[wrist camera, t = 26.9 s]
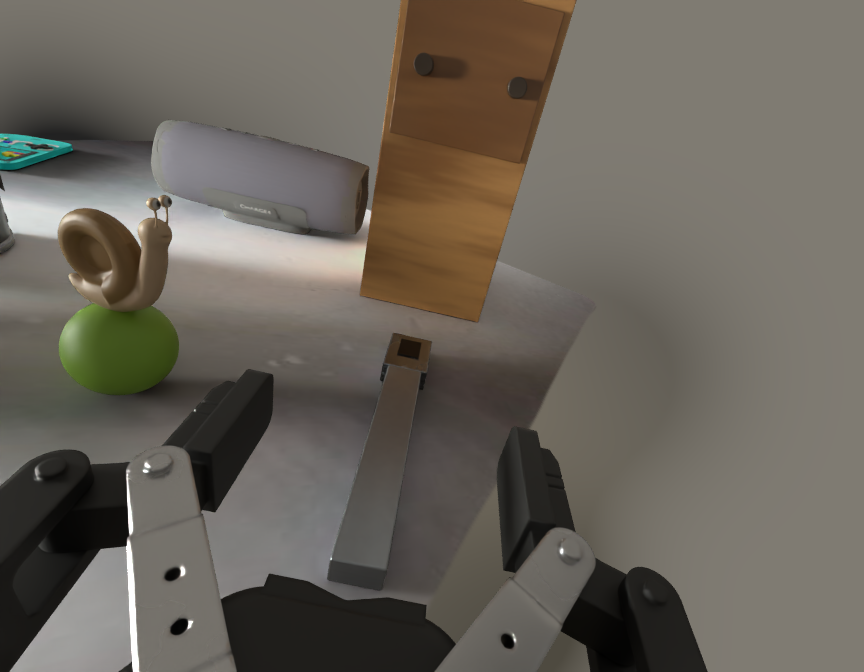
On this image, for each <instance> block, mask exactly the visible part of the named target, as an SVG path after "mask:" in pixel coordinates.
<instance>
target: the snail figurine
mask: <svg viewBox="0 0 864 672" xmlns="http://www.w3.org/2000/svg"><path fill="white" fill-rule="evenodd" d="M171 204H172V200H171V199H170V197H168V196H166V195H162V196H160V197H159V199H156V198H149V199H148V200H147V206H148V207H149V208H150V209H151V210H154V213H155V218H147V219H145V220H143V221H142V222H141V223H140V225H139V227H138V235H139V238H140V240H141V243H142V250H141V248H140V246H139V244H138V242H137V241H136V239H135V238H134V236H133V235H132V233H131V232H130V231H129V230H128V229H127V228H126V227H125V226H124V225H123V224H122V223H121V222H119V221H118V220H117V219H115V218H114V217H112V216H110V215H109V214H107V213H104V212H102V211H99V210H96V209H90V208H83V209H76V210H74V211H71V212H69V213H67V214H66V215H65V216H64V217H63V218H62V220H61V222H60V224H59V228H58V241H59V245H60V248H61V250H62V253H63V255H64V257H65V258H66V260H67V262H68V263H69V264H70V266H71V267H72V268H73V269H74V270H75V271H76V272H77V273H78V274H77V273H70V274H69V280H70V282H71V283H72V285H73V286H74V287H75V289H76V290H77V291H78V292H79V293H80V294H81V295H82V296H83V297H85V298H86V299H88V300H89V301H91V302H93V304H91V305H88V306H86V307H85V308H83V309H81V310H80V311H79V312H77V313H76V314H75V315H74V316H73V317H72V318H71V319H70V320H69V321H68V322H67V324H66V325H65V327H64V329H63V331H62V333H61V336H60V340H59V354H60V359H61V362H62V364H63V366H64V368H65V370H66V371H67V372H68V374H69V375H70V376H71V377H72V378H73V379H74V380H75V381H76V382H78V383H79V384H81V385H82V386H84V387H86V388H88V389H90V390H92V391H95V392H98V393H102V394H108V395H128V394H134V393H138V392H141V391H144V390H146V389H149V388H151V387H152V386H154V385H156V384H157V383H159V382H160V381H161V380H163V379H164V378H165V377H166V376H167V375H168V374H169V372H170V371H171V370H172V368H173V366H174V364H175V362H176V360H177V357H178V352H179V340H178V335H177V332H176V330H175V328H174V326H173V324H172V323H171V321H170V320H169V319H168V318H167V317H166V316H165V315H164V314H163V313H162V312H161V311H159V310H158V309H156V308H155V307H153V306H151V305H153V304H154V303H155V302H156V301H157V300H158V298H159V296H160V294H161V292H162V290H163V287H164V284H165V279H166V274H167V268H168V246H169V244H170V242H171V240H172V232H171V229H170V227H169V226H168V207H170V206H171ZM161 206H162V207H165V209H166V222H164V221H162V220H160V219H157V213H156V210H158V209H160V207H161Z"/></svg>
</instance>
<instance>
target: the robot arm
mask: <svg viewBox="0 0 864 672" xmlns="http://www.w3.org/2000/svg"><path fill="white" fill-rule="evenodd" d="M0 188H1V189H2V190H4V186H3V183H2V180H1V176H0ZM4 191H5V190H4ZM13 244H14V237H13V233H12V231H11V229H10V228H9V225H8V219H7V216H6V214H5V212H4V208H3V205H2V202H1V198H0V253H2V252H4V251H6V250H8V249H9V248H11V247H12V246H13ZM272 411H273V375H272V374H270V373H265V372H260V371H256V370H251V369H248V370H246V371H245V373H244V374H243V375H242V376H241V377H240V379H239V380H238V381H237V382H236V383H235V382H231V381H226V382H224V383H223V384H221V385H219V386H217V387H215V388H213V389H212V390H211V391H210V392H209V393H208V394H207V396H206V397H205V398H204V399H203V400H202V403H201V402H200V403H199V405H198V406H197V407H196V408H195V409H194V412H191V414H190V415H189V416H188V417H187V418H186V419H185V420H184V421H183V423H182V424H181V425H180V426H179V427H178V428H177V429H176V430H175V431H174V433H173V434H172V435H171V436H170V437H169V438H168V439H167V440H166V442H165V443H164V444H163V445H162V446H159V447H154V448H151V449H148V450H146V451H144V452H142V453H140V454H139V455H137V456H136V457H135V458H134V459H133V460H132V461H131V462H125V463H111V464H92V465H91V464H90V461H89V458H88V457H87V455H86V454H84V453H82V452H80V451H76V450H58V451H53V452H49V453H46V454H43V455H41V456H38V457H36V458H34V459H32V460H31V461H29V462H27V463H26V464H25V465H24V466H22V467H21V468H20V469H19V470H18V471H17V472H15V473H14V474H13V475H12V476H11V477H10V478H9V479H8V480H7V481H5V482H4V483H3V484H2V485H1V486H0V672H9V671H10V670H11V668H12V667H13V666H14V664H15V663H16V662H17V660H18V659H19V658H20V656H21V655H22V654H23V652H24V651H25V650H26V648H27V647H28V646H29V644H30V643H31V642H32V640H33V639H34V638H35V636H36V635H37V634H38V632H39V631H40V630H41V628H42V627H43V626H44V624H45V623H46V622H47V620H48V619H49V618H50V616H51V615H52V614H53V612H54V611H55V610H56V608H57V607H58V605H59V604H60V603H61V601H62V600H63V599H64V597H65V596H66V595H67V593H68V592H69V591H70V589H71V588H72V587H73V585H74V584H75V583H76V581H77V580H78V579H79V577H80V576H81V575H82V573H83V572H84V571H85V569H86V568H87V567H88V565H89V564H90V563H91V561H92V560H93V559H94V557H95V556H96V555H97V553H98V552H99V551H100V549H105V548H114V547H124V546H127V554H128V574H129V594H130V614H131V633H132V653H133V662H131V663H130V664H129V665H127V666H126V667H124V668H123V669H122V670H120V671H119V672H537V670H538V669H539V667H540V665H541V663H542V662H543V660H544V658H545V656H546V655H547V653H548V651H549V650H550V648H551V646H552V644H553V643H554V641H555V639H556V637H557V636H558V634H559V632H560V631H561V632H563V633H565V634H567V635H569V636H570V637H572V638H574V639H575V640H577V641H579V642H581V643H582V644H584V645H586V648H587V654H588V659H589V665H590V672H707V669H706V666H705V664H704V661H703V658H702V655H701V653H700V650H699V648H698V645H697V642H696V639H695V637H694V634H693V631H692V628H691V626H690V623H689V621H688V618H687V615H686V613H685V610H684V607H683V604H682V601H681V599H680V597H679V595H678V593H677V592H676V590H675V589H674V588H673V586H672V585H671V584H670V583H669V582H668V581H667V580H666V579H665V578H664V577H662V576H661V575H660V574H658V573H657V572H655V571H653V570H651V569H648V568H644V567H635V568H633V569H631V570H630V571H629V572H628V574H624V573H623V572H621V571H619V570H617V569H615V568H613V567H611V566H609V565H607V564H605V563H603V562H601V561H600V560H598V559H596V558H595V556H594V553H593V551H592V549H591V547H590V546H589V544H588V543H587V542H586V541H585V540H584V539H583V538H582V537H581V536H580V535H578V534H577V533H576V532H575V528H574V524H573V520H572V516H571V512H570V508H569V504H568V500H567V496H566V492H565V490H564V483H563V480H562V479H561V477H562V475H561V472H560V467H559V464H558V462H557V460H556V459H555V457H554V456H553V454H552V453H551V451H550V450H548V449H543V448H540V443H539V438H538V434H537V432H536V431H534V430H530V429H525V428H521V427H516V426H514V427H513V428H512V429H511V431H510V434H509V436H508V439H507V441H506V444H505V446H504V449H503V451H502V454H501V456H500V459H499V462H498V467H497V488H498V501H499V516H500V529H501V543H502V557H503V570H505V571H509V572H514V573H515V575H514V576H513V577H512V578H511V577H509V578H508V579H507V580H506V582H505V583H504V584H503V585H502V587H501V588H500V589H499V590H498V592H497V593H496V594H495V596H494V597H493V598H492V599H491V601H490V602H489V603H488V605H487V606H486V607H485V609H484V610H483V611H482V612H481V613H480V615H479V616H478V617H477V618H476V620H475V621H474V622H473V624H472V625H471V626H470V627H469V629H468V630H467V631H466V632H465V634H464V635H463V636H462V637H461V639H460V640H459V641H458V643H457V644H455V642H454V641H453V640H452V639H451V638H450V637H449V636H448V635H447V634H446V633H445V632H444V631H443V630H442V629H441V628H440V627H438V626H437V625H435V624H434V623H432V622H431V621H429V620H427V619H425V617H426V605H423V604H418V603H413V602H408V601H403V600H398V599H393V598H374V599H361V600H344V599H341V598H339V597H337V596H335V595H334V594H332V593H330V592H328V591H326V590H324V589H322V588H320V587H318V586H316V585H314V584H312V583H310V582H308V581H304V580H299V579H294V578H289V577H284V576H279V575H274V574H269V575H268V577H267V580H266V582H265V584H264V586H262V587H254V588H249V589H245V590H242V591H239V592H236V593H233V594H231V595H229V596H227V597H224V598H223V599H220V594H219V589H218V584H217V579H216V575H215V570H214V565H213V560H212V555H211V550H210V545H209V540H208V535H207V531H206V526H205V521H204V517H203V514H201V511H202V510H206V511H211V512H216V510H217V509H218V507H219V506H220V504H221V502H222V501H223V499H224V497H225V496H226V494H227V493H228V491H229V489H230V488H231V486H232V484H233V483H234V481H235V480H236V478H237V476H238V475H239V473H240V472H241V470H242V468H243V467H244V465H245V463H246V462H247V460H248V459H249V457H250V455H251V454H252V452H253V451H254V449H255V447H256V446H257V444H258V442H259V441H260V439H261V438H262V436H263V434H264V433H265V431H266V429H267V428H268V425H269V423H270V420H271V416H272Z"/></svg>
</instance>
